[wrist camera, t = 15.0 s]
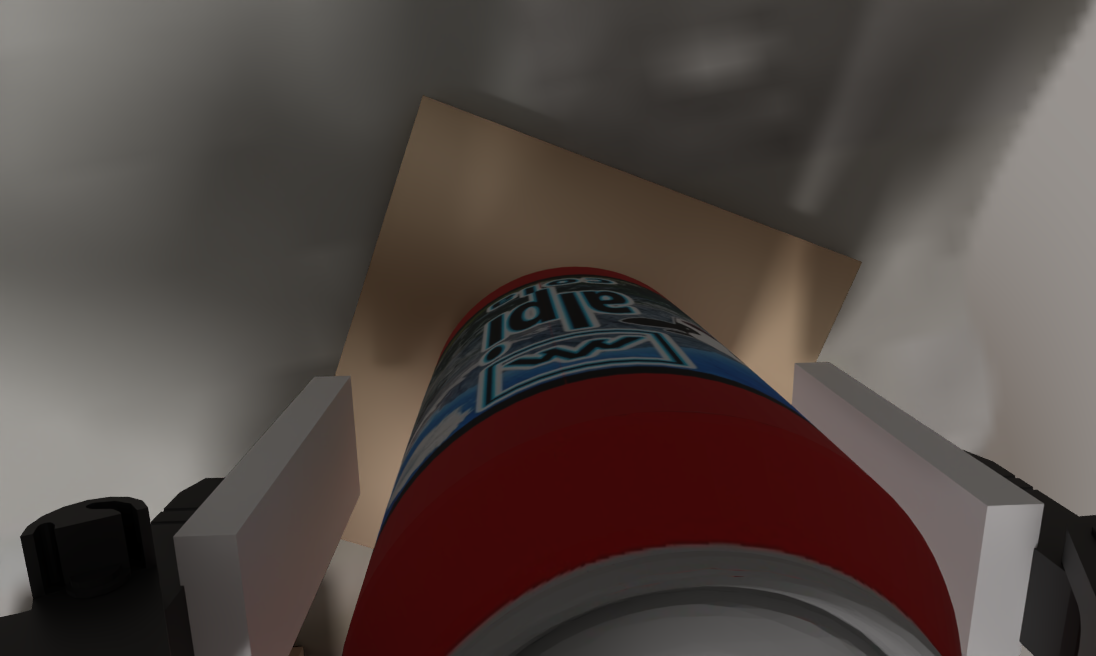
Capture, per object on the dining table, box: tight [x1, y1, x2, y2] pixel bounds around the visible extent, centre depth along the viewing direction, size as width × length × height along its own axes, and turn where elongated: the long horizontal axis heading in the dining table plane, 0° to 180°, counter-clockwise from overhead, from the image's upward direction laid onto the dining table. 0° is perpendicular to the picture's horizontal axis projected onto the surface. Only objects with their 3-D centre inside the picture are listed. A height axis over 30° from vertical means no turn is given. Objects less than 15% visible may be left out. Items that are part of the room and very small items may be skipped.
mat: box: [335, 95, 862, 549], centre depth 18 cm, size 11×11×1 cm
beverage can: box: [342, 266, 962, 656], centre depth 12 cm, size 7×7×12 cm
